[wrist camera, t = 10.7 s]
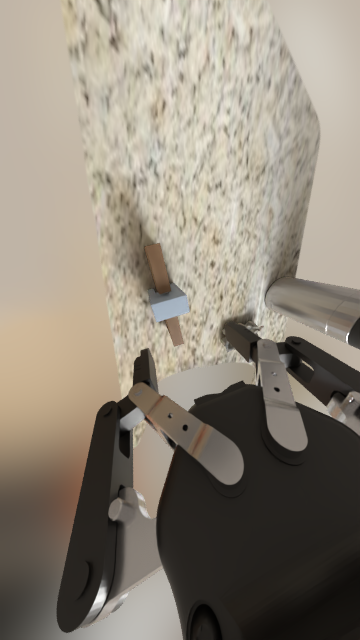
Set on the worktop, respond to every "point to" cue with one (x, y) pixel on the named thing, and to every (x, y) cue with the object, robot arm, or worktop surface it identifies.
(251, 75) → the worktop surface
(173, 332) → the slotted plate
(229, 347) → the egg carton
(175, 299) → the notched block
